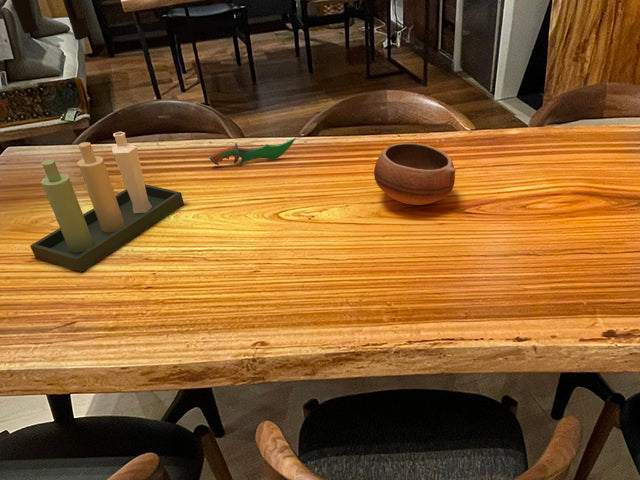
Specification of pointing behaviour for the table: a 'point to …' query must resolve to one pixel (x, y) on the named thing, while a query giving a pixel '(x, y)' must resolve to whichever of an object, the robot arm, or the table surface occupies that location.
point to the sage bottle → (66, 208)
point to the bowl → (414, 173)
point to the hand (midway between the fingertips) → (56, 35)
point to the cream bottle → (100, 189)
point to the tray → (107, 242)
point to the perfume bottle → (131, 172)
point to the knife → (251, 152)
